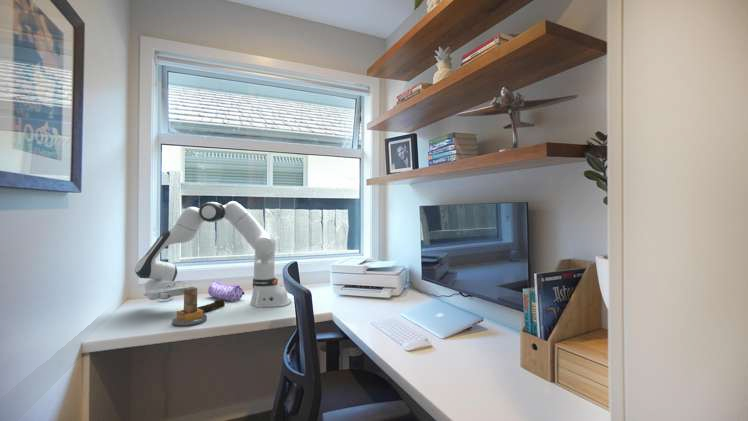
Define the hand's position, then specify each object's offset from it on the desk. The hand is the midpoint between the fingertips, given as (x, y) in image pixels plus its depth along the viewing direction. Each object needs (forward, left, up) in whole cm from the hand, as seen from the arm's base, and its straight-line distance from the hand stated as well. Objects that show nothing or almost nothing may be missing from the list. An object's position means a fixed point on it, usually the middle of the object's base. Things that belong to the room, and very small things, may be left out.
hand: (178, 294), depth 158 cm
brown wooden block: (-9, +6, -10) cm, 15 cm away
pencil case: (-8, -35, -11) cm, 37 cm away
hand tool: (-9, -12, -12) cm, 19 cm away
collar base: (-9, +6, -11) cm, 16 cm away
